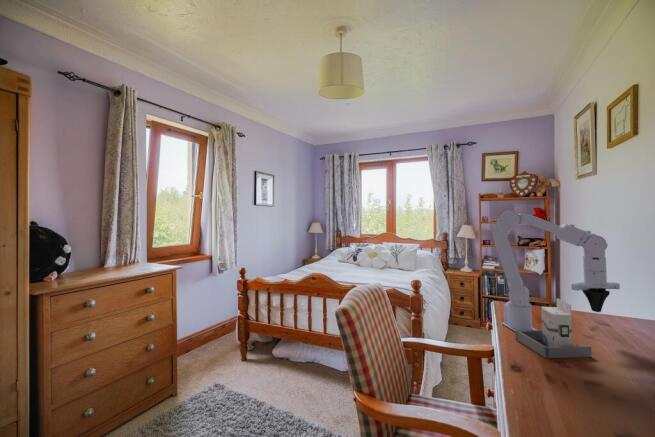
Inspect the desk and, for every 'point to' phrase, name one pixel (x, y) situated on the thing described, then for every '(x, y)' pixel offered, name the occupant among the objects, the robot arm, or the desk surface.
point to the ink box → (557, 325)
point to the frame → (551, 351)
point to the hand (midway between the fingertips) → (596, 311)
